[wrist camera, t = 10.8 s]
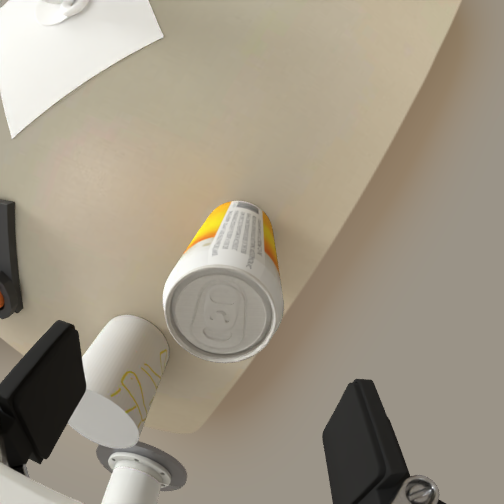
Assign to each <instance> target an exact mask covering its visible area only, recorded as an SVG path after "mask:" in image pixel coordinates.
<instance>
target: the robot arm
mask: <svg viewBox="0 0 504 504" xmlns="http://www.w3.org/2000/svg"><path fill="white" fill-rule="evenodd" d="M85 391H86V380H85V374H84V368H83V362H82V356H81V349H80V342H79V334H78V331H77V330H75V327H74V325H72V324H70V323H67V322H64V321H61V320H58V321H56V322H55V323H54V324H53V325H52V327H51V328H50V329H49V330H48V331H47V332H46V333H45V334H44V335H43V336H42V337H41V338H40V339H39V340H38V341H37V343H36V344H35V345H34V346H33V347H32V348H31V349H30V350H29V351H28V352H27V353H26V355H25V356H24V357H23V358H22V359H21V360H20V361H19V363H18V364H17V365H16V366H15V367H14V368H13V369H12V370H11V372H10V373H9V374H8V375H7V376H6V377H5V379H4V380H3V381H2V382H1V384H0V504H85V503H82V502H80V501H77V500H75V499H73V498H70V497H68V496H66V495H63V494H61V493H59V492H57V491H55V490H53V489H50V488H48V487H46V486H44V485H42V484H40V483H38V482H36V481H34V480H32V479H30V478H29V475H28V471H27V467H26V463H27V461H28V459H31V460H33V461H35V462H37V463H39V464H41V462H42V460H43V459H47V458H48V457H49V456H50V454H51V452H52V450H53V448H54V446H55V444H56V443H57V441H58V439H59V437H60V435H61V434H62V432H63V430H64V428H65V426H66V424H67V423H68V421H69V419H70V418H71V416H72V414H73V412H74V411H75V409H76V407H77V406H78V404H79V402H80V400H81V399H82V397H83V395H84V394H85ZM323 445H324V451H325V456H326V462H327V468H328V474H329V481H330V487H331V494H332V500H333V504H446V503H444V502H442V501H440V500H439V489H438V487H437V485H436V484H435V483H434V482H433V481H432V480H431V479H429V478H428V477H425V476H422V475H414V476H410V474H409V471H408V469H407V466H406V463H405V460H404V458H403V455H402V452H401V449H400V446H399V444H398V441H397V438H396V436H395V433H394V430H393V428H392V425H391V423H390V420H389V419H388V417H387V416H386V413H385V410H384V408H383V405H382V403H381V400H380V398H379V395H378V393H377V390H376V388H375V385H374V383H373V381H372V380H364V379H355V380H354V382H353V383H349V384H348V386H347V388H346V390H345V392H344V394H343V396H342V398H341V400H340V402H339V403H338V405H337V407H336V409H335V411H334V413H333V415H332V416H331V418H330V420H329V422H328V424H327V425H326V427H325V429H324V431H323ZM108 463H109V466H110V468H111V469H112V470H113V472H112V475H111V478H110V481H109V483H108V486H107V489H106V492H105V494H104V497H103V500H102V503H101V504H157V501H158V497H159V493H160V489H161V488H164V487H167V486H168V485H169V484H170V482H171V475H170V473H169V472H168V470H167V469H166V468H164V467H163V466H162V465H160V464H159V463H157V462H155V461H153V460H151V459H149V458H147V457H144V456H141V455H138V454H134V453H129V452H116V453H113V454H112V455H111V456H110V458H109V460H108Z"/></svg>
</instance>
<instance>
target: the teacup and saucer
mask: <svg viewBox="0 0 504 504" xmlns="http://www.w3.org/2000/svg"><path fill="white" fill-rule="evenodd" d="M89 2H90V0H36V2H35V5H34V18H35V20H36V22H37V23H38V24H39V25H41V26H44V27H51V26H55V25H58V24H60V23H62V22H64V21H66V20H67V19H68V18H70V17H73V16H75V15H77V14H79V13H80V12H81V11H82V10H83V9H84V8H85V7H86V6H87V5H88V3H89Z"/></svg>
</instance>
